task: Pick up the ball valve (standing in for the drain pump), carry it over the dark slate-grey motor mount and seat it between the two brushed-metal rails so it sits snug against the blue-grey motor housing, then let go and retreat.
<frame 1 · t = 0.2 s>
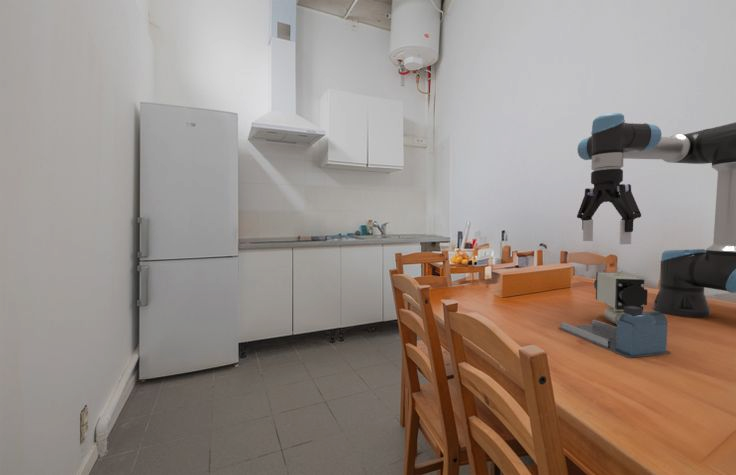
hand: (605, 242, 97), 28 cm above the table, fingers open, 13 cm apart
ball valve: (619, 324, 108), on the table
motor mount: (608, 339, 94), on the table
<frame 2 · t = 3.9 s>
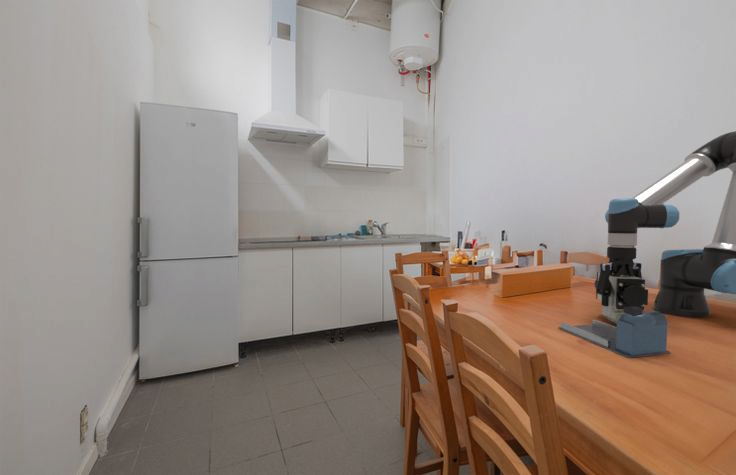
hand: (619, 314, 108), 3 cm above the table, fingers closed on ball valve, 9 cm apart
ball valve: (619, 324, 108), on the table, touching gripper
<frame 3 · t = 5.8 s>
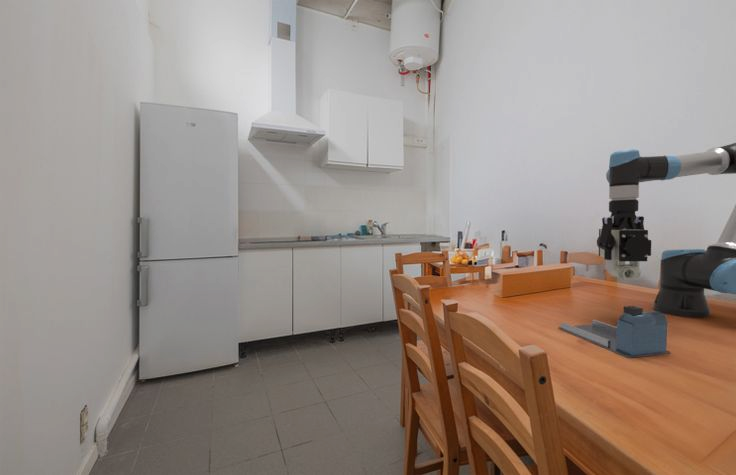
hand: (622, 269, 107), 18 cm above the table, fingers closed on ball valve, 9 cm apart
ball valve: (623, 279, 107), point 15 cm above the table, touching gripper
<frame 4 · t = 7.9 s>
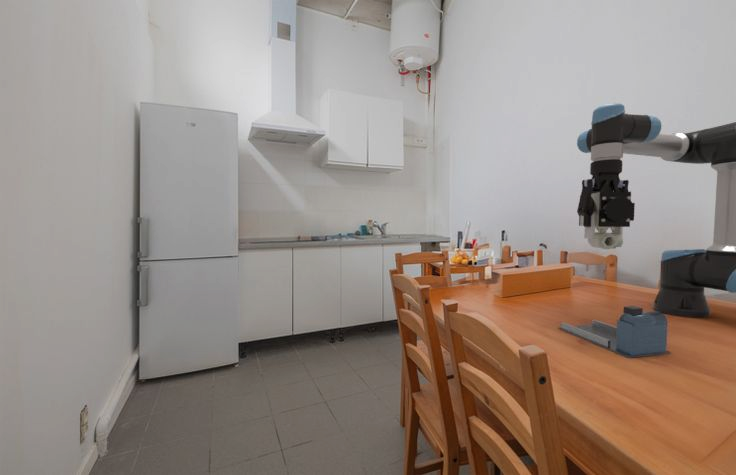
hand: (603, 238, 96), 29 cm above the table, fingers closed on ball valve, 9 cm apart
ball valve: (603, 249, 97), point 26 cm above the table, touching gripper
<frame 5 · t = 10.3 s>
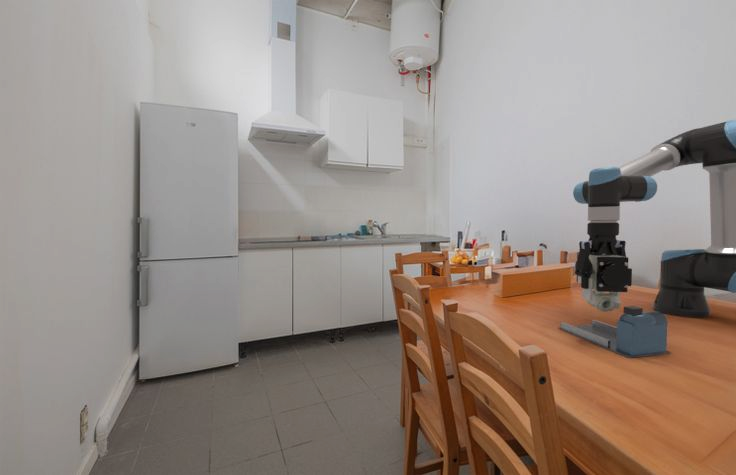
hand: (601, 298, 96), 11 cm above the table, fingers closed on ball valve, 9 cm apart
ball valve: (601, 309, 97), point 8 cm above the table, touching gripper
when the fingers open (4 cm above the table, at t = 12.3 s): ball valve stays where it is, resting on motor mount.
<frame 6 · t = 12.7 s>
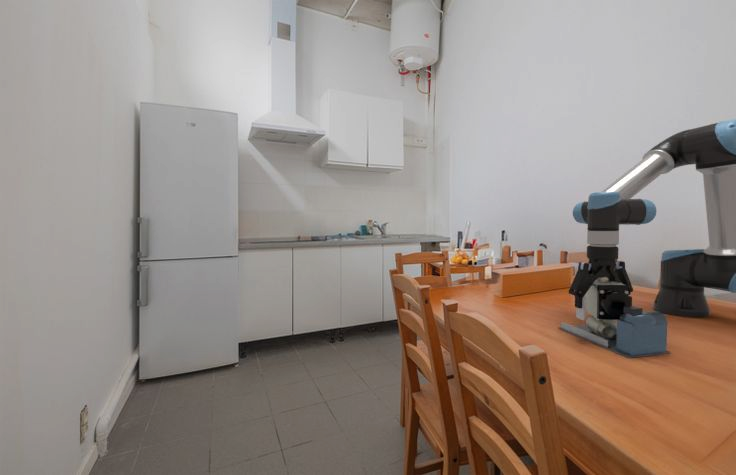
hand: (600, 317, 97), 6 cm above the table, fingers open, 13 cm apart
ball valve: (602, 335, 97), resting on motor mount
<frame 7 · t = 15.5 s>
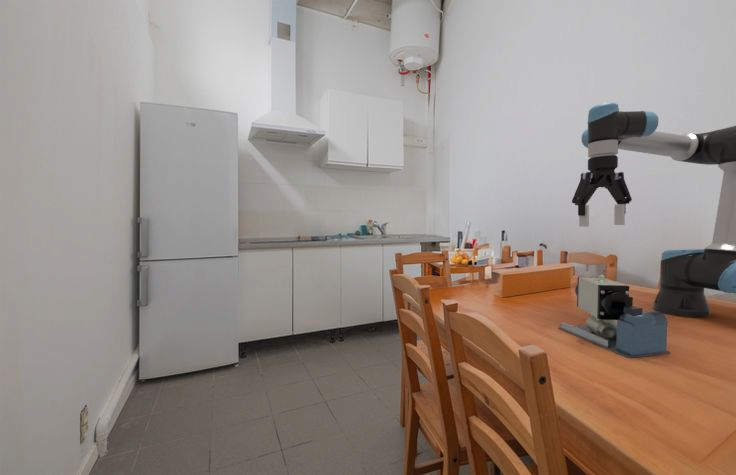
hand: (601, 225, 102), 32 cm above the table, fingers open, 13 cm apart
nothing on the table moved.
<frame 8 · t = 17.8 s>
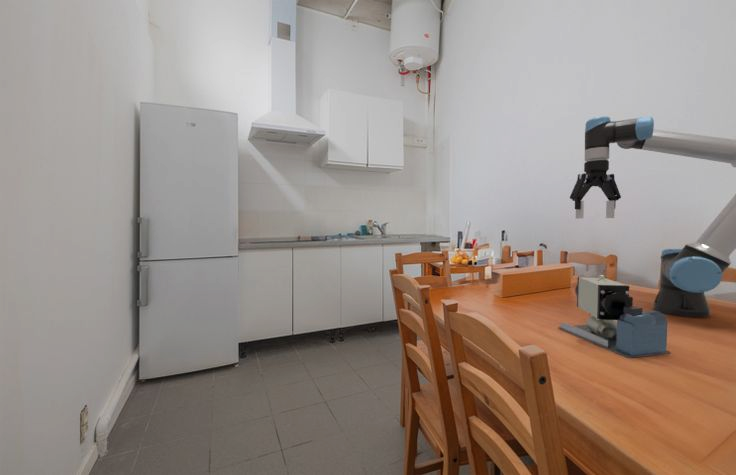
hand: (594, 218, 123), 35 cm above the table, fingers open, 13 cm apart
nothing on the table moved.
at the end: ball valve 0.9 cm from the target spot on the motor mount, point 0.2 cm above the motor mount's base; ball valve tilted 0°; the gripper is holding nothing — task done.
